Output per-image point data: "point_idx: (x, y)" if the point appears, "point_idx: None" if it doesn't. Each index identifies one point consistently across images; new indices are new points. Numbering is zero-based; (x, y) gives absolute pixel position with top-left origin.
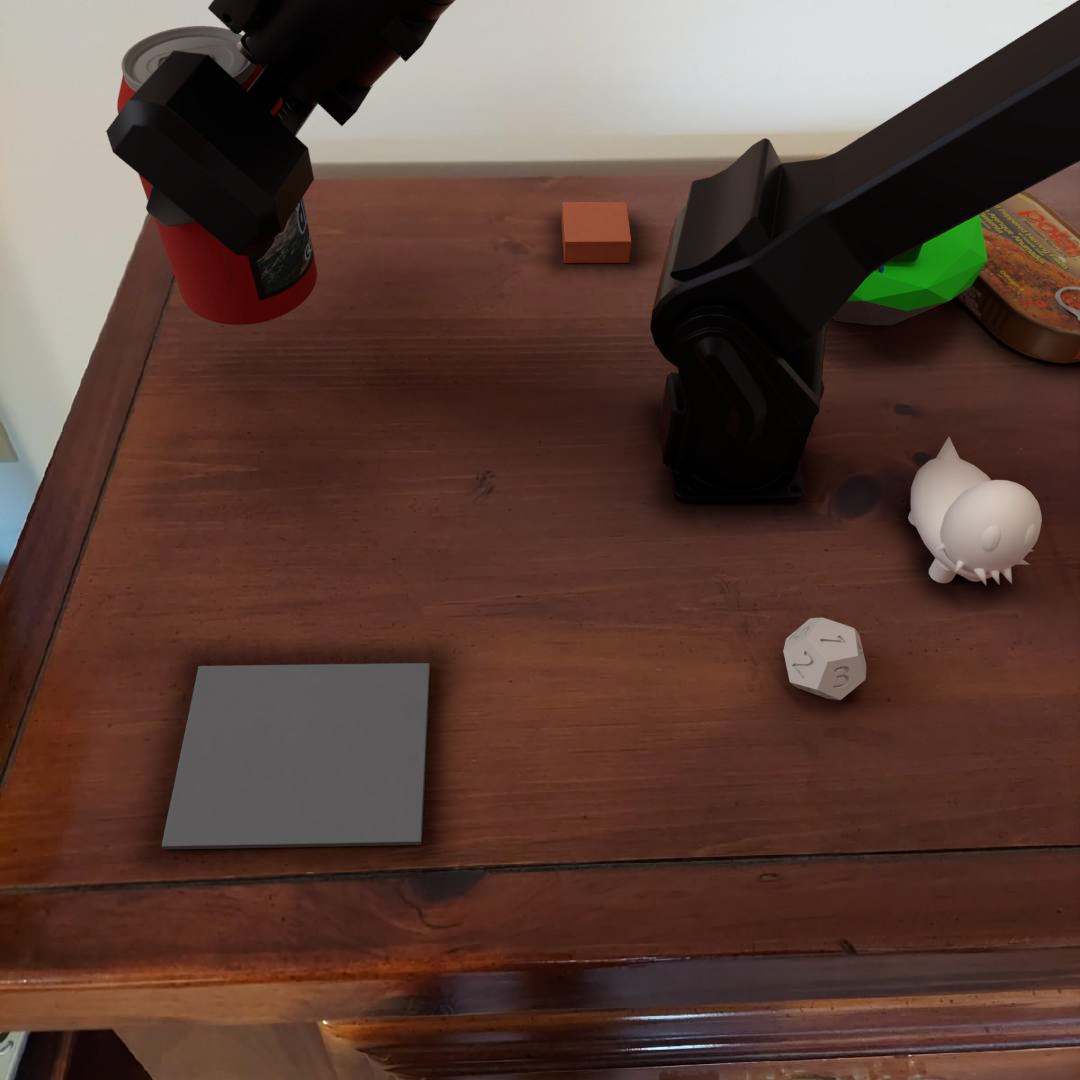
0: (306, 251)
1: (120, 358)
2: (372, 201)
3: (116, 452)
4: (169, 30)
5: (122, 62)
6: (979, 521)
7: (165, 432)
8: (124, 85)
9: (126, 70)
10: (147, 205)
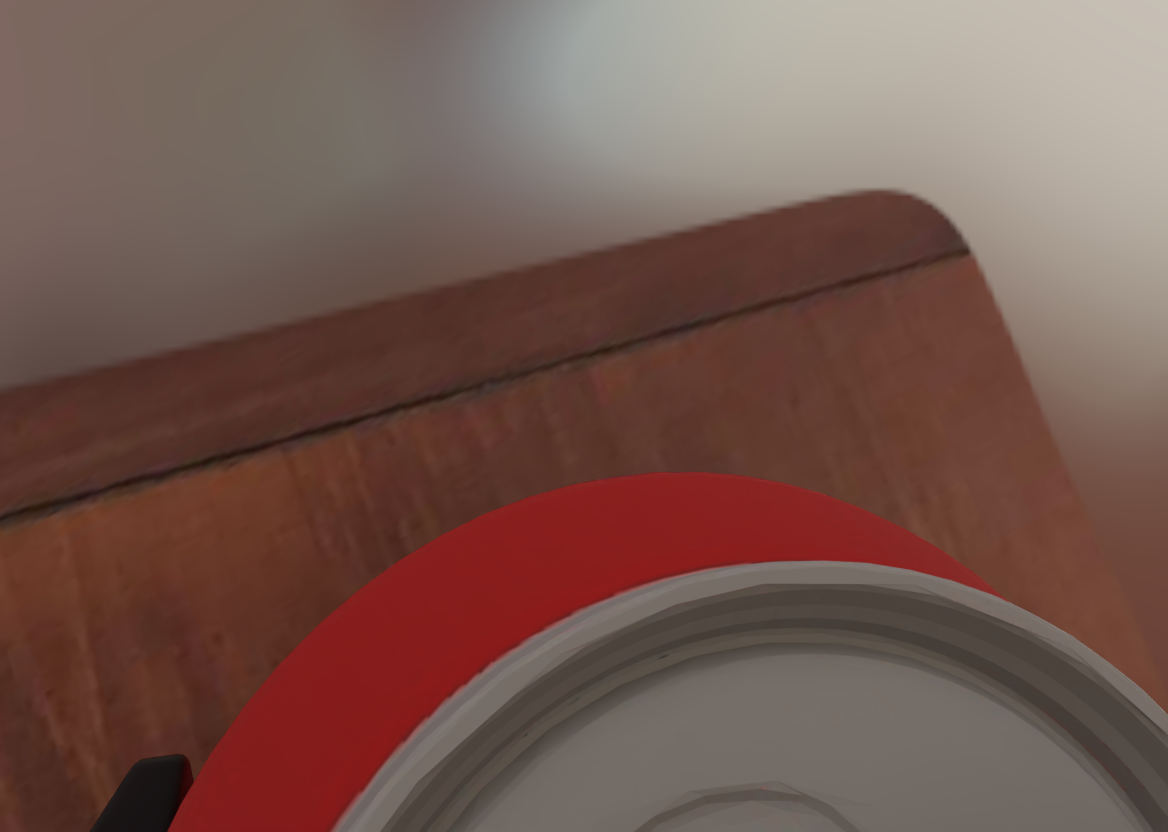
0: None
1: (387, 346)
2: (1089, 647)
3: (82, 499)
4: (1147, 718)
5: (570, 640)
6: None
7: (181, 577)
8: (386, 726)
9: (485, 731)
10: (116, 793)
